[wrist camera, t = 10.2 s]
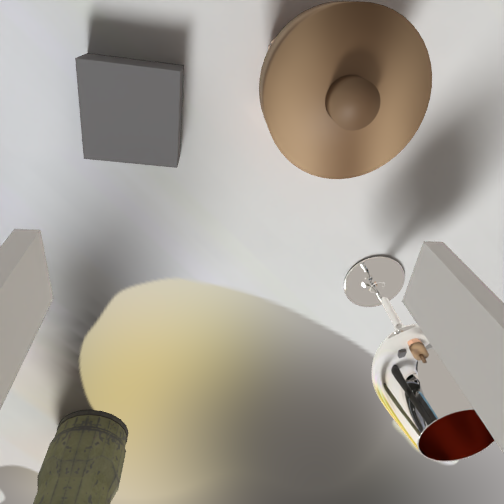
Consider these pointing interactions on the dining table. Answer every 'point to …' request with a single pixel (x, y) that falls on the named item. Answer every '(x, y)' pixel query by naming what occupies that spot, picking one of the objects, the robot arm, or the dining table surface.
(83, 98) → the stand
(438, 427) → the wineglass
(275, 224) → the dining table surface
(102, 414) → the thermos
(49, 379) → the dining table surface
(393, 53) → the lid
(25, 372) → the dining table surface
